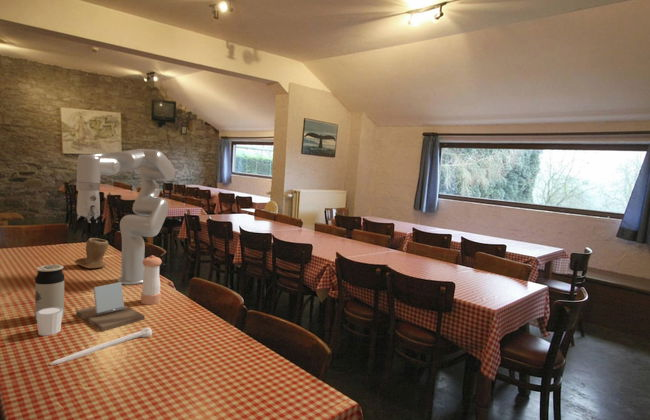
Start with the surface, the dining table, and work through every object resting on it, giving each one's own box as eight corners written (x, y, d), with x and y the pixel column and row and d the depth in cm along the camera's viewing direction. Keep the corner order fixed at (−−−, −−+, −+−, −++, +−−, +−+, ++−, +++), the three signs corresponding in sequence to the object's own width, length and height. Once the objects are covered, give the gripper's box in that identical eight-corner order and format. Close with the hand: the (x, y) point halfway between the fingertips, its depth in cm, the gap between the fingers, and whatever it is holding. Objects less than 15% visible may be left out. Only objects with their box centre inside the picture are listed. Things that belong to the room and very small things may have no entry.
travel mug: (61, 311, 131) (62, 263, 129) (65, 318, 125) (66, 268, 124) (33, 316, 125) (33, 266, 124) (36, 324, 120) (37, 271, 118)
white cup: (67, 330, 118) (68, 309, 117) (45, 338, 111) (45, 316, 110) (53, 325, 120) (53, 305, 119) (30, 333, 113) (30, 312, 113)
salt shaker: (164, 300, 149) (166, 255, 147) (149, 305, 143) (151, 258, 141) (152, 297, 152) (153, 252, 150) (136, 302, 146) (138, 255, 144)
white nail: (55, 371, 95) (55, 360, 95) (48, 365, 98) (48, 355, 97) (154, 336, 119) (155, 328, 118) (147, 332, 121) (148, 324, 121)
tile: (93, 287, 127) (94, 287, 126) (119, 282, 134) (121, 282, 133) (96, 316, 126) (97, 316, 125) (122, 309, 134) (124, 309, 133)
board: (76, 314, 130) (76, 310, 129) (116, 304, 141) (116, 301, 141) (102, 331, 118) (102, 327, 118) (144, 319, 130) (144, 315, 130)
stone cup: (112, 267, 190) (112, 239, 188) (86, 271, 180) (87, 242, 179) (98, 261, 198) (99, 235, 197) (73, 265, 189) (74, 237, 187)
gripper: (108, 189, 136) (106, 234, 137) (90, 186, 146) (88, 228, 147) (86, 188, 130) (84, 235, 131) (68, 185, 140) (66, 229, 141)
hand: (86, 231), depth 139 cm, fingers open, 9 cm apart
